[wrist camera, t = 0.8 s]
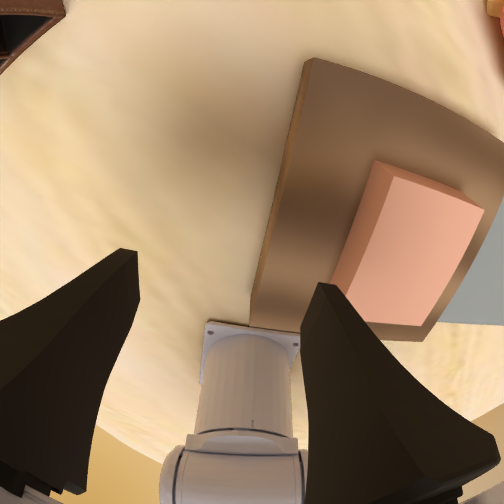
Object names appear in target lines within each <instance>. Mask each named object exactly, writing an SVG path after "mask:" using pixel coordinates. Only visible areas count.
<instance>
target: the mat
mask: <svg viewBox="0 0 504 504" xmlns="http://www.w3.org/2000/svg"><path fill="white" fill-rule="evenodd" d="M437 322H447V323H462V324H480V325H502V326H504V197H503V199H502V202H501V204H500V207H499V209H498V211H497V214H496V216H495V218H494V220H493V223H492V225H491V227H490V229H489V231H488V234H487V236H486V238H485V240H484V242H483V244H482V246H481V248H480V250H479V252H478V254H477V256H476V257H475V259H474V261H473V263H472V265H471V267H470V269H469V270H468V272H467V274H466V276H465V277H464V279H463V281H462V283H461V284H460V286H459V288H458V289H457V291H456V293H455V294H454V296H453V297H452V299H451V301H450V302H449V304H448V305H447V307H446V308H445V310H444V312H443V313H442V315H441V316H440V318H439V319H438V320H437Z"/></svg>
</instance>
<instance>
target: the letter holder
mask: <svg viewBox="0 0 504 504" xmlns="http://www.w3.org/2000/svg"><path fill="white" fill-rule="evenodd" d="M64 17H65V11H64V9H63V4H62V0H0V74H1V73H2V72H3V71H4V70H5V69H6V68H7V67H8V66H9V65H10V64H11V63H12V62H13V61H14V60H15V59H16V58H17V57H18V56H19V55H20V54H21V53H22V52H23V51H24V50H26V49H27V48H28V47H29V46H30V45H31V44H32V43H33V42H34V41H36V40H37V39H38V38H39V37H40V36H41V35H43V34H44V33H45V32H46V31H47V30H49V29H50V28H51V27H52V26H54V25H55V24H56V23H58V22H59V21H60V20H61V19H63V18H64Z"/></svg>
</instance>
